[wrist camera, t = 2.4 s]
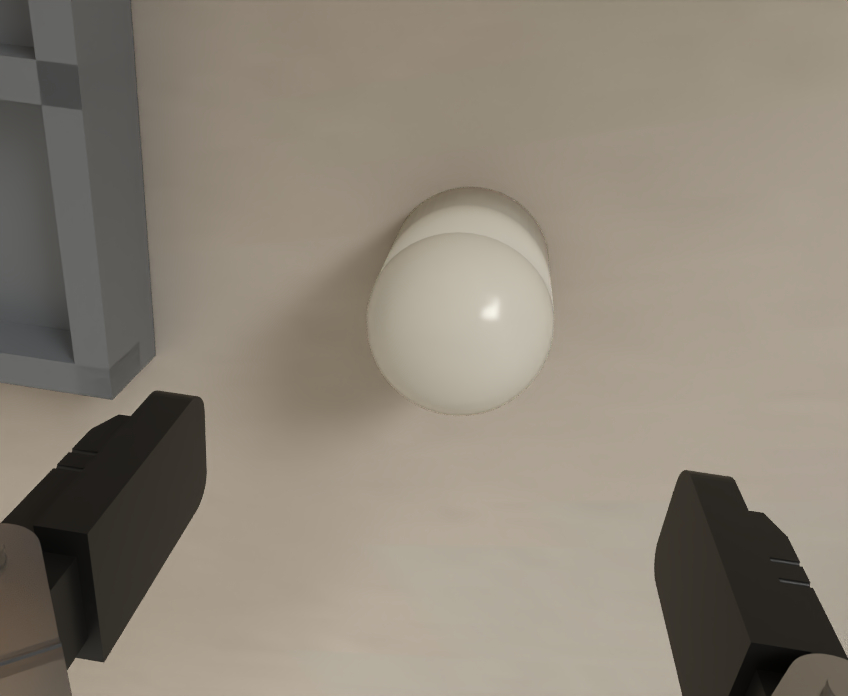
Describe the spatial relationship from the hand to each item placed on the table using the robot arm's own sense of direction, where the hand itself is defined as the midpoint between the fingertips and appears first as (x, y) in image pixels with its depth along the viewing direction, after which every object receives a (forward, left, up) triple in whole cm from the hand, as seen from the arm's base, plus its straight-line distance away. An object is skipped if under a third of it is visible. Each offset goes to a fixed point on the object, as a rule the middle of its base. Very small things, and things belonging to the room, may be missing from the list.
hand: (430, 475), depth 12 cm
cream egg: (0, 0, -10) cm, 10 cm away
